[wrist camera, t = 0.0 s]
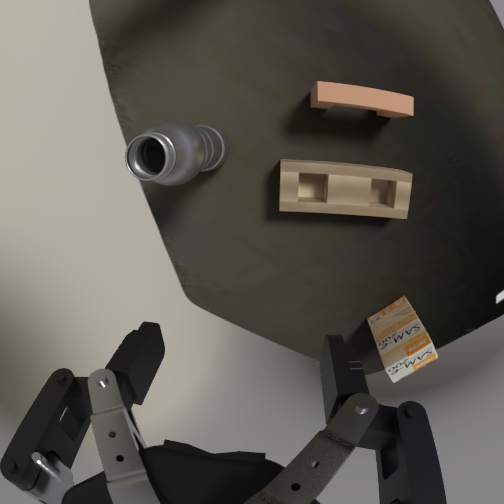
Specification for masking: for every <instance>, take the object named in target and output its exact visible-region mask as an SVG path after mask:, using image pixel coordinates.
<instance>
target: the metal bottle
mask: <svg viewBox="0 0 504 504" xmlns="http://www.w3.org/2000/svg"><path fill="white" fill-rule="evenodd" d="M228 153H229V142H228V139H227V137H226V135H225V134H224V132H223V131H222V130H221V129H219V128H218V127H216V126H214V125H211V124H206V123H205V124H198V125H194V126H193V125H191V124H190V123H188V122H185V121H182V120H179V119H173V118H170V119H164V120H161V121H158V122H156V123H155V124H153V125H151V126H150V127H149V128H148V129H147V130H146V131H145V132H144V133H143V134H142V135H139V136H137V137H136V138H134V139H133V140H132V141H131V142H130V143H129V145H128V147H127V149H126V153H125V162H126V166H127V168H128V170H129V171H130V173H131V174H132V175H133V176H134V177H136V178H137V179H140V180H143V181H151V180H153V181H154V182H156V183H159V184H162V185H167V186H178V185H182V184H184V183H186V182H188V181H190V180H191V179H192V178H194V177H195V176H196V175H197V174H198V173H199V172H200V171H212V170H215V169H217V168H218V167H220V166H221V165H222V164H223V163H224V162H225V160H226V159H227V156H228Z"/></svg>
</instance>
